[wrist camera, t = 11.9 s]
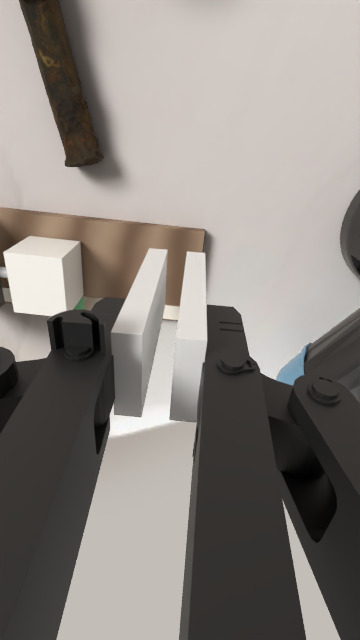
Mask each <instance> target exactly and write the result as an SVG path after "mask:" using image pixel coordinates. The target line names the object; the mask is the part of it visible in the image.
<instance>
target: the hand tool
mask: <svg viewBox="0 0 360 640" xmlns="http://www.w3.org/2000/svg"><path fill="white" fill-rule="evenodd" d="M19 2H20V6H21V9H22V12H23V15H24V18H25V21H26V24H27V27H28V30H29V33H30V36H31V40H32V45H33V48H34V51H35V54H36V58H37V62H38V65H39V69H40V72H41V76H42V79H43V82H44V85H45V89H46V92H47V95H48V98H49V102H50V105H51V108H52V112H53V115H54V119H55V122H56V125H57V128H58V130H59V133H60V137H61V140H62V143H63V147H64V150H65V155H66V160H65V166H67V167H81V166H88V165H92V164H95V163H98V162H99V161H101V160H102V159H103V158H104V156H103V155H102V154H101V153H100V152H99V151H98V139H97V137H95V136H94V133H93V128H92V124H91V118H90V114H89V111H88V107H87V103H86V101H85V100H84V97H83V93H82V89H81V82H80V80H79V77H78V73H77V70H76V67H75V63H74V60H73V56H72V52H71V49H70V45H69V41H68V37H67V34H66V30H65V27H64V24H63V19H62V16H61V12H60V9H59V4H58V0H19Z"/></svg>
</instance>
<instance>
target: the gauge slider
mask: <svg viewBox="0 0 360 640" xmlns="http://www.w3.org/2000/svg"><path fill="white" fill-rule="evenodd" d="M3 254H4V259H5V265H6V267H0V277H3V278H8V281H9V287H10V292H11V298H12V303H13V309H14V312H18V313H27V314H36V315H45V316H54V315H56V314H58V313H61V312H64V311H69V310H73V309H74V308H75V306H76V305H77V303H78V302H79V301H80V299H81V298H82V296H83V295H84V294H83V277H82V260H81V244H80V241H73V240H64V239H54V238H45V237H36V236H29V237H27V238H25V239H24V240H22V241H20V242H19V243H17V244H16V245H14V246H12V247H11V248H9V249H8V250H6V251H4V252H3Z"/></svg>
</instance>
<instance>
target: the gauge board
mask: <svg viewBox="0 0 360 640" xmlns="http://www.w3.org/2000/svg"><path fill="white" fill-rule="evenodd" d="M204 235H205V229H196V228H187V227H177V226H168V225H159V224H149V223H140V222H131V221H122V220H112V219H103V218H94V217H85V216H75V215H66V214H57V213H47V212H38V211H29V210H20V209H10V208H1V207H0V267H6V265H5V259H4V254H3V252H4V251H6V250H8V249H9V248H11V247H12V246H14V245H16V244H17V243H19V242H20V241H22V240H24V239H25V238H27V237H29V236H36V237H45V238H54V239H64V240H73V241H80V244H81V260H82V277H83V294H84V295H83V296H82V298H81V299H80V301H79V302H78V303H77V305H76V306H75V308H74V309H73V310H80V309H84V310H90V311H91V309H92V308H93V306H94V304H95V303H96V302H98V301H100V300H101V299H103V298H105V297H113V298H124V299H126V298H127V296H128V294H129V291H130V289H131V287H132V285H133V283H134V280H135V278H136V276H137V274H138V272H139V270H140V267H141V265H142V263H143V261H144V259H145V257H146V254H147V252H148V250H149V248H153V249H165V250H168V252H167V272H166V291H165V309H164V314H163V318H162V319H163V320H172V321H178V316H179V308H180V300H181V293H182V285H183V278H184V270H185V262H186V255H187V251H188V252H200V253H202V250H203V242H204ZM4 303H12V298H11V292H10V287H9V281H8V278H3V277H0V307H1V306H2V305H3V304H4Z"/></svg>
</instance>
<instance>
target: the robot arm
mask: <svg viewBox="0 0 360 640" xmlns="http://www.w3.org/2000/svg"><path fill="white" fill-rule="evenodd" d="M340 244H341V251H342V255H343V257H344V260H345V262H346V264H347V265H348V267H349V268H350V270H351V271H352V272H353V273H354V274H355V275H356V276H357V277H359V278H360V190H359V191H358V193H357V194H356V196H355V197H354V199H353V200H352V202H351V204H350V205H349V207H348V209H347V212H346V214H345V217H344V220H343V223H342V227H341V235H340ZM167 252H168V250H165V249H153V248H149V250H148V252H147V254H146V257H145V259H144V261H143V263H142V265H141V267H140V270H139V272H138V274H137V276H136V278H135V280H134V283H133V285H132V287H131V289H130V291H129V294H128V296H127V298H126V299H124V298H113V297H105V298H103V299H101V300H100V301H98V302H96V303H95V304H94V306H93V308H92V309H91V311H90V310H84V309H80V310H69V311H64V312H61V313H58V314H56V315H54V316H52V317H51V318H50V319H49V320H47V324H48V331H49V337H50V344H51V352H50V353H49V355H48V357H47V358H44V359H38V360H30V361H21V362H16V361H15V357H14V355H13V353H12V352H11V351H10V350H8V349H6V348H3V347H0V640H56V638H57V634H58V630H59V626H60V623H61V619H62V615H63V611H64V607H65V603H66V599H67V595H68V591H69V587H70V584H71V579H72V576H73V571H74V568H75V564H76V560H77V556H78V552H79V548H80V544H81V540H82V536H83V533H84V529H85V525H86V521H87V517H88V513H89V509H90V505H91V501H92V497H93V493H94V490H95V486H96V482H97V477H98V474H99V470H100V466H101V462H102V458H103V454H104V451H105V446H106V443H107V439H108V435H109V431H110V412H111V409H112V406H113V403H114V415H124V416H134V417H141V416H142V411H143V406H144V402H145V397H146V392H147V388H148V383H149V378H150V374H151V369H152V365H153V360H154V355H155V351H156V346H157V341H158V337H159V332H160V327H161V323H162V318H163V314H164V309H165V291H166V272H167ZM170 420H176V421H187V422H197V427H196V435H195V442H194V449H193V469H192V482H191V495H190V508H189V520H188V533H187V545H186V559H185V571H184V583H183V596H182V608H181V621H180V634H179V640H306V636H305V629H304V624H303V618H302V613H301V606H300V601H299V595H298V589H297V583H296V577H295V571H294V566H293V560H292V554H291V549H290V543H289V536H288V531H287V525H286V519H285V513H284V507H283V502H282V499H283V501H284V504H285V506H286V509H287V511H288V513H289V516H290V518H291V521H292V523H293V526H294V528H295V530H296V533H297V535H298V538H299V540H300V543H301V545H302V547H303V549H304V552H305V554H306V557H307V559H308V562H309V564H310V566H311V569H312V571H313V574H314V576H315V579H316V581H317V583H318V586H319V588H320V590H321V593H322V595H323V598H324V600H325V603H326V605H327V607H328V610H329V612H330V615H331V617H332V619H333V622H334V624H335V627H336V629H337V632H338V634H339V636H340V639H341V640H360V308H359V309H358V310H357V311H355V312H354V313H353V314H351V315H350V316H349V317H347V318H346V319H344V320H343V321H342V322H340V323H339V324H338V325H336V326H335V327H334V328H332V329H331V330H330V331H328V332H327V333H326V334H324V335H323V336H322V337H320V338H319V339H318V340H316V341H315V342H314V343H309V344H307V345H306V346H305V347H304V348H303V350H302V352H301V353H300V354H298V355H297V356H296V357H295V358H294V359H292V360H291V361H290V362H289V363H288V364H286V365H285V366H284V367H283V368H282V369H281V370H280V372H279V374H278V376H277V378H276V380H274V379H271V378H269V377H267V376H265V375H263V374H262V373H260V369H259V366H258V364H257V362H256V361H254V360H253V359H252V358H251V357H250V356H249V351H248V347H247V342H246V337H245V332H244V327H243V323H242V318H241V315H240V314H239V312H238V311H237V310H236V309H235V308H234V307H227V306H216V305H206V260H205V253H200V252H188V251H187V255H186V262H185V270H184V278H183V285H182V293H181V300H180V308H179V316H178V323H177V331H176V339H175V352H174V366H173V379H172V393H171V406H170Z"/></svg>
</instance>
